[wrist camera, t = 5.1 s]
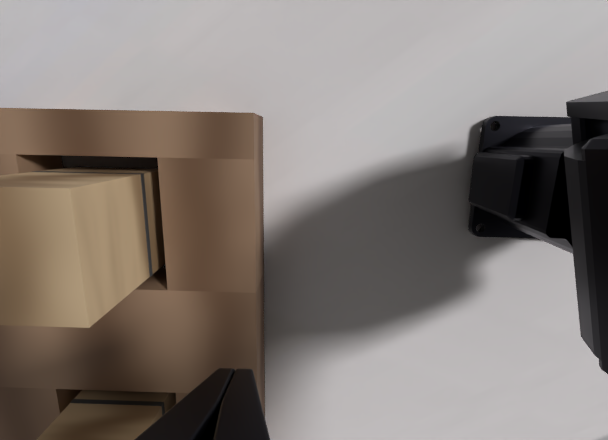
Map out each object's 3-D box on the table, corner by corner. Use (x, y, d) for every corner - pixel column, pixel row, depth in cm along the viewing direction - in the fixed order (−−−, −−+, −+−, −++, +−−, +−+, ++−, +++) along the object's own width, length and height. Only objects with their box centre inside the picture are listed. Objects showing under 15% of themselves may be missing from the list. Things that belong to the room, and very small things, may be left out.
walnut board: (262, 117, 18) (227, 100, 11) (265, 472, 24) (243, 632, 16) (-28, 111, 19) (-269, 91, 11) (41, 464, 24) (-87, 618, 16)
